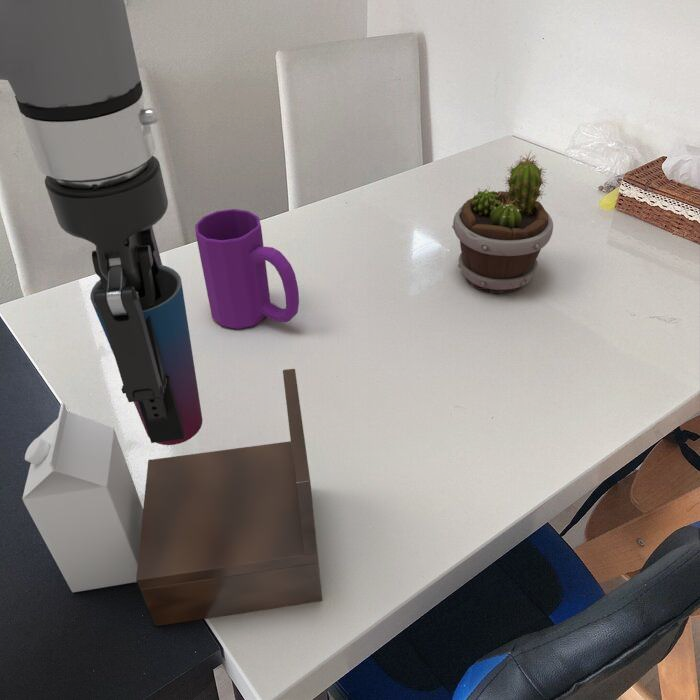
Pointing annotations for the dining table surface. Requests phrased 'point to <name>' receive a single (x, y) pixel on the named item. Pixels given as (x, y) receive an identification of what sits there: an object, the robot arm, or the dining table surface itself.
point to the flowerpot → (504, 231)
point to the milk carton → (84, 502)
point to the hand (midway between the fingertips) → (169, 409)
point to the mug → (242, 270)
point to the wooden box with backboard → (230, 529)
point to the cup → (172, 349)
